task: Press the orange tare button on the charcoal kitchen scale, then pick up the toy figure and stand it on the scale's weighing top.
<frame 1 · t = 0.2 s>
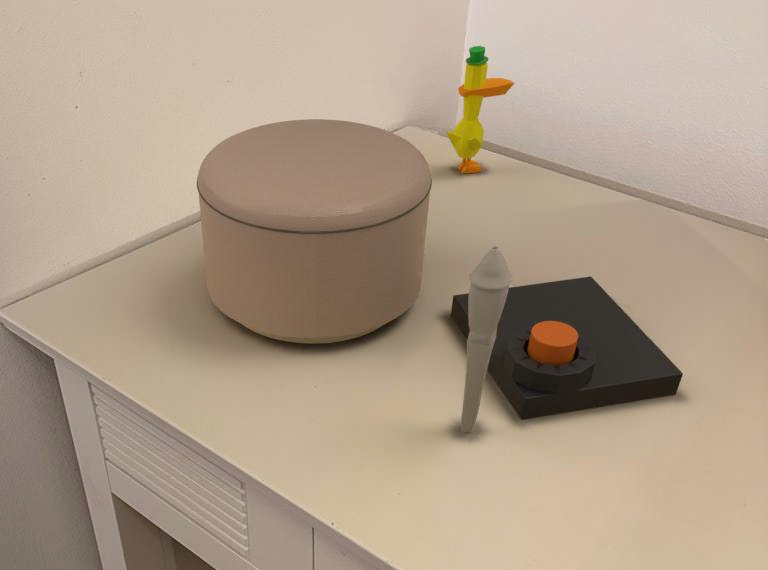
tare button: (552, 343, 62), point 4 cm above the table, slide at 0.1 cm
container: (313, 295, 75), on the table
toy figure: (470, 171, 93), on the table
pen: (466, 431, 62), on the table
scale: (556, 352, 68), on the table
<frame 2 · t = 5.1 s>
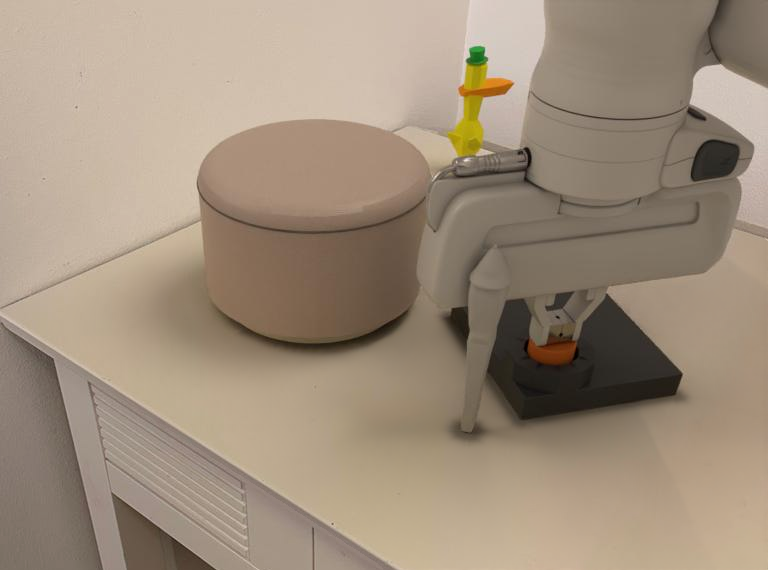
hand: (552, 339, 62), 4 cm above the table, tool pointing down, fingers closed, pressing on tare button
tare button: (551, 349, 62), point 3 cm above the table, slide at -0.4 cm, touching gripper
everything else where it was.
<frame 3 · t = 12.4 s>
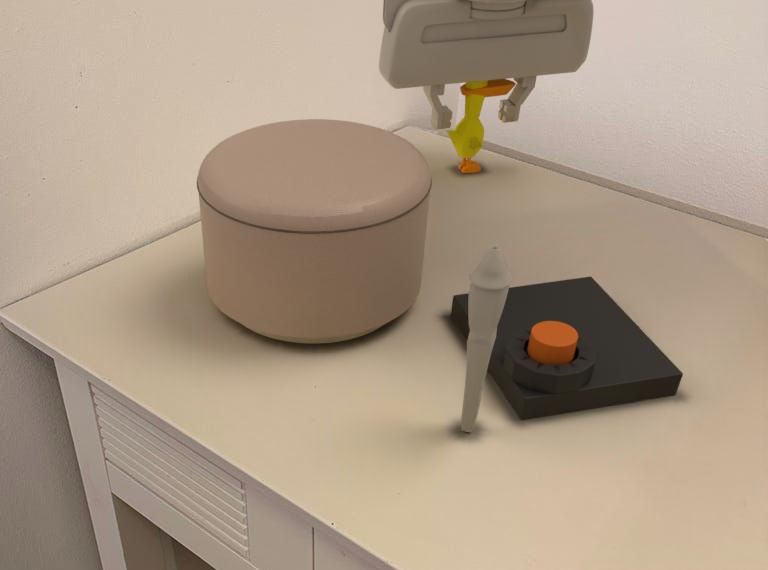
hand: (474, 123, 89), 5 cm above the table, tool pointing down, fingers closed on toy figure, 6 cm apart
tare button: (552, 343, 62), point 4 cm above the table, slide at 0.1 cm
toy figure: (470, 171, 93), on the table, touching gripper
everything else where it was.
when the fingers open (7 cm above the table, at t = 22.3 s): toy figure stays where it is, resting on scale.
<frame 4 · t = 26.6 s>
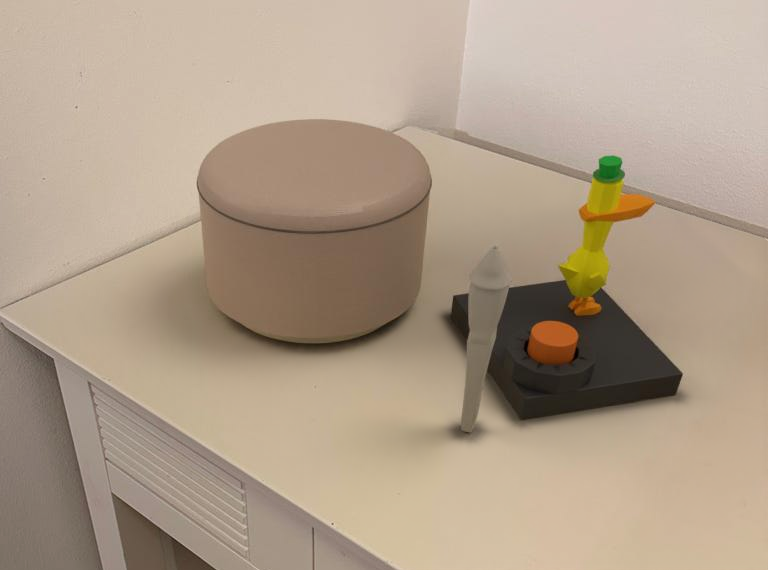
toy figure: (585, 311, 69), point 2 cm above the table, touching scale
everything else where it was.
at the end: tare button pushed in 0.8 cm at the most during the clip, back to where it started at the end; toy figure inside the target area on the scale (4.1 cm from its centre), point 1.7 cm above the scale's base; toy figure touching scale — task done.
